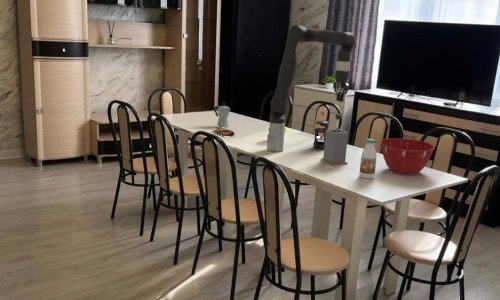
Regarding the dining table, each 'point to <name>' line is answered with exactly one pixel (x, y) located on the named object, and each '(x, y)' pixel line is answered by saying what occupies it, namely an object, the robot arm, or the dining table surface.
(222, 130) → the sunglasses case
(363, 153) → the milk bottle
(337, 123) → the plunger
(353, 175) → the dining table surface
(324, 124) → the french press
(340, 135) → the grey upright prism
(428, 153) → the mixing bowl
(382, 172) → the dining table surface
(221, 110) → the coffee maker
